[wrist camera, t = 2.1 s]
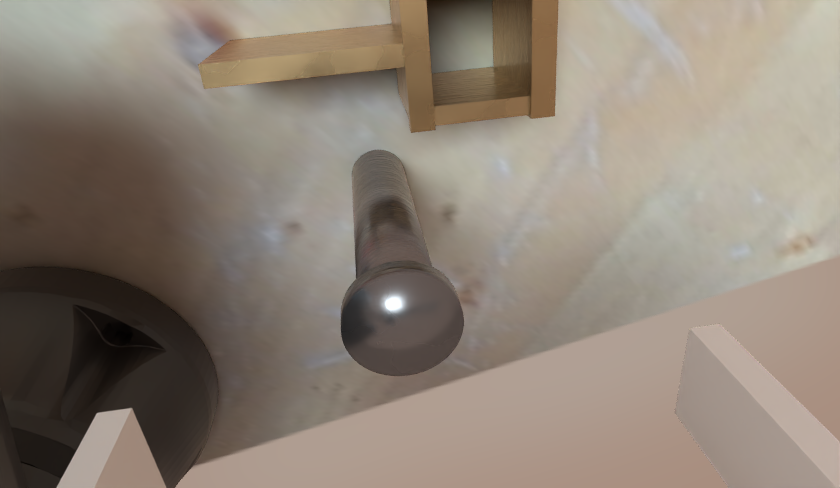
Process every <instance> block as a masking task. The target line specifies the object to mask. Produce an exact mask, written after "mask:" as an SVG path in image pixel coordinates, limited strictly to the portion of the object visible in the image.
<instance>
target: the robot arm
mask: <svg viewBox="0 0 840 488" xmlns="http://www.w3.org/2000/svg"><path fill="white" fill-rule="evenodd" d="M217 401H218V382H217V376H216V372H215V368H214V365H213V362H212V360H211V357H210V355H209V353H208V351H207V349H206V348H205V346H204V344H203V343H202V341H201V340H200V339H199V337H198V336H197V334H196V333H195V332H194V331H193V330H192V328H191V327H190V326H189V325H188V324H187V323H186V322H185V321H184V320H183V319H182V318H181V317H180V316H178V315H177V314H176V313H175V312H174V311H172V310H171V309H170V308H169V307H167V306H166V305H164V304H163V303H162V302H160V301H159V300H157V299H155V298H154V297H152V296H150V295H149V294H147V293H145V292H143V291H141V290H139V289H137V288H135V287H133V286H131V285H128V284H126V283H123V282H121V281H118V280H116V279H112V278H109V277H106V276H103V275H99V274H95V273H91V272H86V271H81V270H75V269H68V268H57V267H29V268H19V269H12V270H6V271H2V272H0V488H175V487H176V485H177V484H178V482H179V481H180V480H181V479H182V478H183V477H184V475H185V474H186V473H187V472H188V471H189V470H190V469H191V468H192V466H193V465H194V464H195V462H196V461H197V459H198V458H199V456H200V454H201V452H202V450H203V448H204V446H205V444H206V442H207V439H208V436H209V433H210V429H211V426H212V422H213V418H214V415H215V411H216V407H217ZM675 414H676V415H677V417H678V418H679V419H680V421H681V422H682V424H683V425H684V426H685V428H686V429H687V431H688V432H689V433H690V435H691V436H692V438H693V439H694V440H695V442H696V443H697V444H698V446H699V447H700V449H701V450H702V451H703V453H704V454H705V456H706V457H707V458H708V460H709V461H710V463H711V464H712V465H713V467H714V468H715V470H716V471H717V472H718V474H719V475H720V477H721V478H722V479H723V481H724V482H725V484H726V485H727V486H728V488H840V442H839V441H838V440H837V439H836V438H835V437H834V436H833V435H832V434H831V433H830V432H829V431H828V430H827V429H826V428H825V427H824V426H823V425H822V424H821V423H820V422H819V421H818V420H817V419H816V418H815V417H814V416H813V415H812V414H811V413H810V412H809V411H808V410H807V409H806V408H805V407H804V406H803V405H802V404H801V403H800V402H799V401H798V400H797V399H796V398H795V397H794V396H793V395H792V394H791V393H790V392H789V391H788V390H787V389H785V387H783V386H782V385H781V384H780V383H779V382H778V381H777V380H776V379H775V378H774V377H773V376H772V375H771V374H770V373H769V372H768V371H767V370H766V369H765V368H764V367H763V366H762V365H761V364H760V363H759V362H758V361H757V360H756V359H755V358H754V357H753V356H752V355H751V354H750V353H749V352H748V351H747V350H746V349H745V348H744V347H743V346H742V345H741V344H740V343H739V342H738V341H737V340H736V339H735V338H734V337H733V336H732V335H731V334H730V333H729V332H728V331H727V330H726V329H725V328H723V326H722V325H721V324H714V325H707V326H700V327H694V328H689V333H688V339H687V345H686V351H685V357H684V362H683V368H682V373H681V380H680V385H679V391H678V397H677V402H676V408H675Z"/></svg>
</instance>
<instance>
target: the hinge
mask: <svg viewBox="0 0 840 488" xmlns="http://www.w3.org/2000/svg"><path fill="white" fill-rule="evenodd" d="M492 8H493V57H494V67H487V68H478V69H469V70H460V71H451V72H442V73H432V74H431V60H430V46H429V32H428V17H427V3H426V0H390V10H391V20H392V24H385V25H375V26H366V27H356V28H346V29H336V30H327V31H317V32H307V33H297V34H288V35H278V36H268V37H259V38H249V39H239V40H230V41H228V42H227V43H226V44H225V45H223V46H222V47H221V48H219V49H218V50H217V51H215V52H214V53H213V54H211V55H210V56H209V57H208V58H206V59H205V60H204V61H202V62H201V63H200V64H198V66H199V70H200V74H201V78H202V82H203V86H204V89H208V88H217V87H226V86H235V85H245V84H254V83H263V82H272V81H282V80H291V79H300V78H309V77H318V76H328V75H337V74H346V73H355V72H365V71H374V70H383V69H392V68H396V71H397V81H398V91H399V95H400V97H401V100H402V102H403V105H404V107H405V110H406V112H407V115H408V117H409V126H410V131H411V133H413V132H422V131H430V130H435V126H437V125H445V124H454V123H463V122H471V121H480V120H488V119H497V118H506V117H514V116H523V115H527V116H529V117H530V118H531V119H533V118H542V117H550V116H555V91H556V58H557V25H558V0H492Z"/></svg>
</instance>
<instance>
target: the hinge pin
mask: <svg viewBox="0 0 840 488" xmlns="http://www.w3.org/2000/svg"><path fill="white" fill-rule="evenodd" d="M352 189H353V213H354V237H355V260H356V280H355V281H354V282H353V283H352V285H351V286H350V287H349V289H348V290H347V292H346V294H345V296H344V299H343V302H342V307H341V335H342V340H343V343H344V345H345V348H346V349H347V351H348V353H349V354H350V355H351V356H352V358H353V359H354V360H355V361H357V362H358V363H359V364H360V365H362V366H363V367H365V368H367V369H369V370H371V371H373V372H376V373H379V374H384V375H391V376H405V375H412V374H417V373H420V372H423V371H426V370H428V369H430V368H432V367H434V366H436V365H438V364H439V363H440V362H442V361H443V360H444V359H446V358H447V357H448V356H449V355H450V354H451V352H452V351H453V350H454V349H455V347H456V346H457V344H458V342H459V340H460V338H461V335H462V332H463V326H464V317H463V311H462V308H461V305H460V302H459V299H458V296H457V293H456V291H455V288H454V286H453V285H452V283H451V282H450V280H449V279H448V278H447V277H446V276H445V275H444V274H442V273H441V272H440V271H439V270H437V269H435V268H434V267H432V265H431V262H430V258H429V255H428V251H427V248H426V244H425V241H424V237H423V234H422V230H421V227H420V223H419V220H418V216H417V213H416V209H415V206H414V202H413V199H412V195H411V192H410V188H409V185H408V181H407V178H406V174H405V171H404V167H403V165H402V163H401V161H400V160H399V159H398V158H397V157H396V156H395V155H394V154H392V153H390V152H388V151H384V150H373V151H370V152H367V153H365V154H363V155H362V156H361V157H360V158H359V159H358V160H357V161H356V163H355V164H354V167H353V170H352Z"/></svg>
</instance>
